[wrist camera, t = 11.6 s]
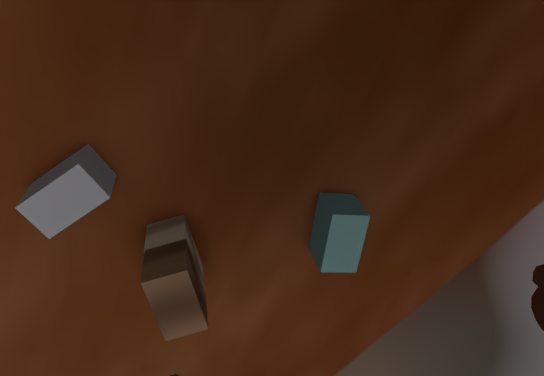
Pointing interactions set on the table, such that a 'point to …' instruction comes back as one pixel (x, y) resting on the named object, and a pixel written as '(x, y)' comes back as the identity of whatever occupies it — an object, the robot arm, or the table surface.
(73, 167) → the grey block
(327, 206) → the teal block
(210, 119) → the table surface
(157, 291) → the walnut block
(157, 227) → the maple block
